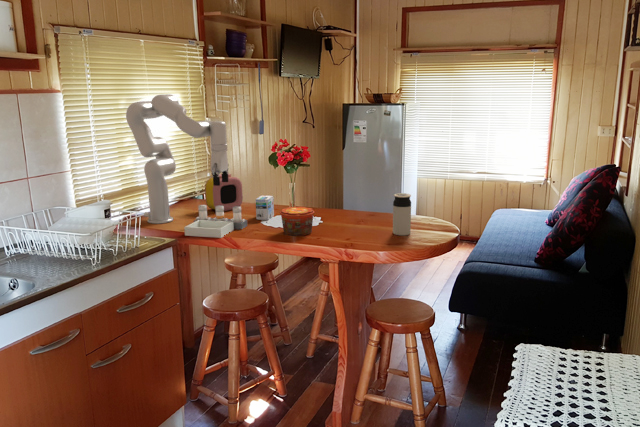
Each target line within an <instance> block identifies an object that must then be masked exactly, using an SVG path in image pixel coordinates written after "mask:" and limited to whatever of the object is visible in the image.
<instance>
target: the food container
mask: <svg viewBox="0 0 640 427" xmlns="http://www.w3.org/2000/svg"><path fill="white" fill-rule="evenodd" d="M314 214H315V210H313V208H312V207H305V206H290V207H285V208H282V209H281V210H280V212H279V215H281V222H282V223H281V224H282V228H283V234H284V235H286V236H291V237H300V236H301V237H303V236H307V235H310V234H311V233H312V232H313V231H312V230H313V219H314Z"/></svg>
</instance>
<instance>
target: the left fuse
mask: <svg viewBox="0 0 640 427" xmlns="http://www.w3.org/2000/svg"><path fill="white" fill-rule="evenodd" d="M197 209H198V217H199V220H207V218H208V206H207V204H198V208H197Z"/></svg>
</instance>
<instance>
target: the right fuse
mask: <svg viewBox="0 0 640 427" xmlns="http://www.w3.org/2000/svg"><path fill="white" fill-rule="evenodd" d="M232 213H233V214H232V215H233V216H232V217H233V220H234V223H241V220H242V206H235V207H233V210H232Z"/></svg>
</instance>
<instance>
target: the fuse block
mask: <svg viewBox="0 0 640 427" xmlns="http://www.w3.org/2000/svg"><path fill="white" fill-rule="evenodd" d="M197 220H199V216H197V217H195V219H194V220H193V222H195V221H197ZM207 220H209V221H216V217H211V216H210V217H209V216H208V217H207ZM224 221H228V222H233V225H234V230H240V229H242V230H244V229H245V228H246V227H248V219H245V218H241V223H234V220H233V218H228V217H226V218H225V217H224ZM243 228H244V229H243Z"/></svg>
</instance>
